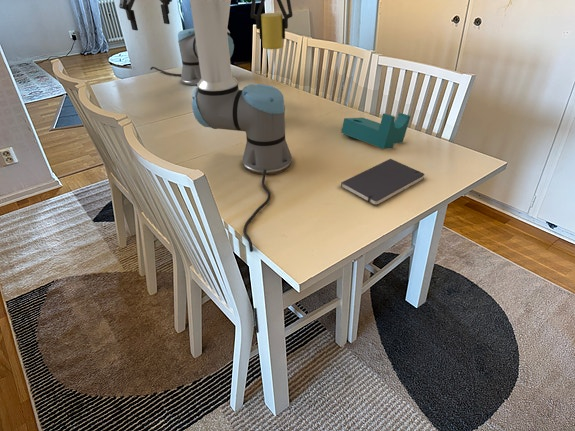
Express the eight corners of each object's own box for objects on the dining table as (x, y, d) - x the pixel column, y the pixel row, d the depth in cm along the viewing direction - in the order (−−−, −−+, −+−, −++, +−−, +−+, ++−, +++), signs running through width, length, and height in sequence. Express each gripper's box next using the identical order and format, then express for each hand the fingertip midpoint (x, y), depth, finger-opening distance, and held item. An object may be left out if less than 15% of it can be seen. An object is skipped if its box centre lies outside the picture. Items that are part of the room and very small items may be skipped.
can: (262, 44, 157) (260, 13, 151) (282, 44, 157) (282, 12, 151) (262, 49, 151) (260, 16, 144) (283, 49, 151) (282, 16, 144)
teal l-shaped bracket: (401, 146, 136) (410, 115, 131) (383, 149, 129) (392, 116, 124) (359, 131, 147) (366, 102, 142) (340, 132, 139) (347, 102, 135)
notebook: (389, 163, 124) (340, 187, 113) (390, 158, 123) (341, 182, 112) (424, 178, 116) (375, 206, 105) (425, 174, 115) (376, 201, 104)
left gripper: (109, -38, 128) (126, 34, 140) (174, -43, 143) (185, 22, 155) (97, -39, 132) (115, 31, 145) (162, -44, 147) (173, 20, 159)
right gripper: (299, -35, 142) (300, 35, 155) (240, -33, 142) (246, 36, 156) (299, -33, 136) (300, 39, 149) (238, -31, 136) (244, 41, 149)
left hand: (151, 26), depth 150 cm, fingers open, 13 cm apart
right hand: (272, 38), depth 152 cm, fingers closed on can, 8 cm apart
